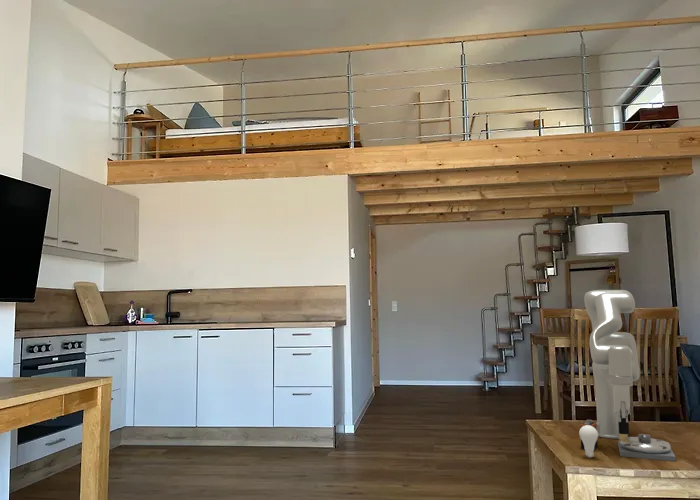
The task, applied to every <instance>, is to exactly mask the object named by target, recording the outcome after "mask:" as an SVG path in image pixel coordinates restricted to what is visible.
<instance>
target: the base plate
mask: <svg viewBox="0 0 700 500" xmlns="http://www.w3.org/2000/svg"><path fill="white" fill-rule="evenodd" d="M617 446H618V451H619V455H620V457H626V458H636V459H637V458H638V459H646V460H657V461H658V460H659V461H670V462H677V459H676V458H677V457H676V455H675V453H674V451H673V450H672V449H671V451H670V452H668V453H643V452H636V451H631V450H628V449H625V448H623V447H621V446H620V440H618V441H617Z"/></svg>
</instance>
